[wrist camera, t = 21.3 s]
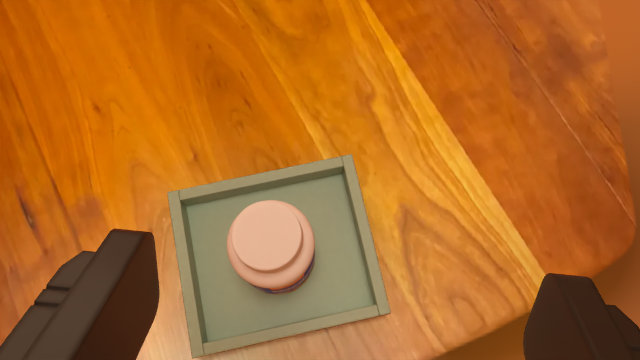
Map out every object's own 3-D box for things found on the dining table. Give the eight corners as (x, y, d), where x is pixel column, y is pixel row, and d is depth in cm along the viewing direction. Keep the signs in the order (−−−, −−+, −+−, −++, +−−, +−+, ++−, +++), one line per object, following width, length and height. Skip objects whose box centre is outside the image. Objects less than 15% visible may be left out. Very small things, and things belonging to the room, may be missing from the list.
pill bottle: (283, 310, 38) (272, 306, 29) (226, 262, 39) (197, 243, 30) (330, 251, 39) (335, 228, 30) (273, 206, 40) (261, 170, 31)
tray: (349, 163, 42) (351, 153, 39) (386, 313, 39) (391, 313, 36) (175, 199, 41) (167, 192, 38) (199, 356, 38) (192, 358, 36)
